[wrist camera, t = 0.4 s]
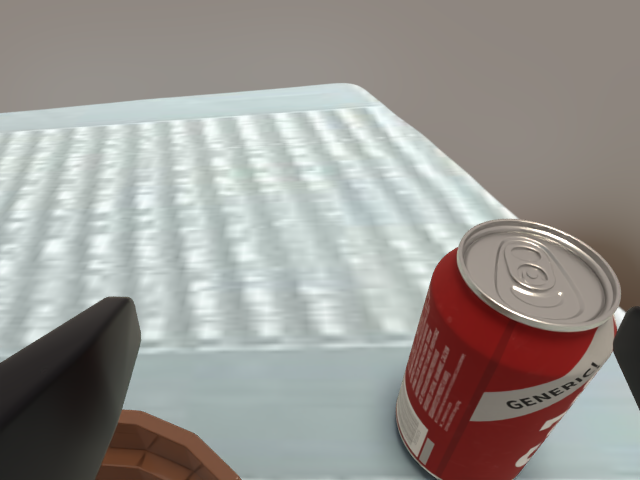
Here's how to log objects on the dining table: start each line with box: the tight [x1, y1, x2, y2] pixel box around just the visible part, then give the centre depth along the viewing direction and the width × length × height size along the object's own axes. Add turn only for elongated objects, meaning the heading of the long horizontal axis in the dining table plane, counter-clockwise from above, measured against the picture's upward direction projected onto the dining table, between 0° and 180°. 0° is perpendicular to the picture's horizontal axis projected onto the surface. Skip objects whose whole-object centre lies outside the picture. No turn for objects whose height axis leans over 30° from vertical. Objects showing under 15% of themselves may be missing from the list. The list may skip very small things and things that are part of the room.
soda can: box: [396, 219, 621, 480], centre depth 20 cm, size 7×7×12 cm
